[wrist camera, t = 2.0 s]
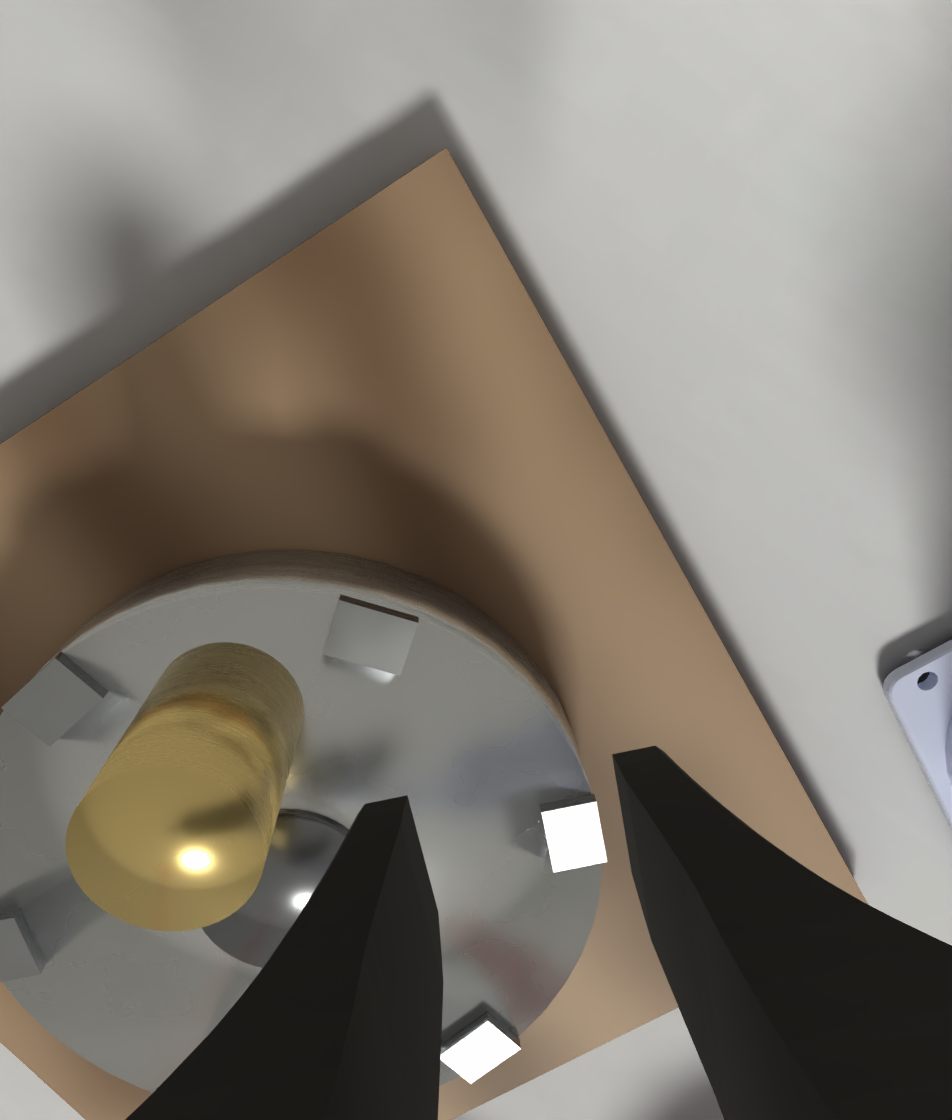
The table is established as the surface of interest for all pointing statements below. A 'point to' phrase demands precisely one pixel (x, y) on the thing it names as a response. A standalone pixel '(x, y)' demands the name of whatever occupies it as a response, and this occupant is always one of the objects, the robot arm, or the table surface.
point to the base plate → (401, 542)
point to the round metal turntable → (282, 802)
